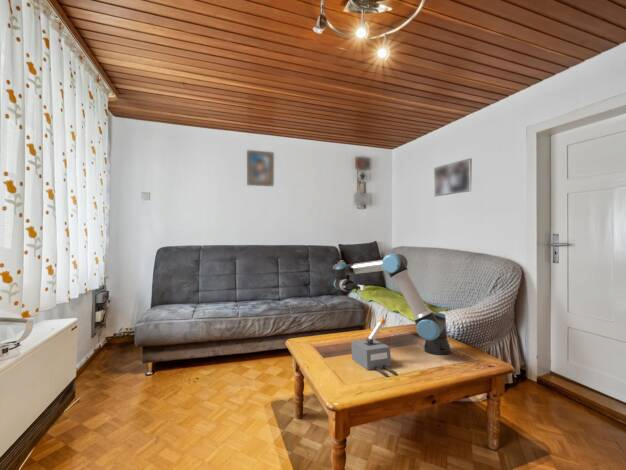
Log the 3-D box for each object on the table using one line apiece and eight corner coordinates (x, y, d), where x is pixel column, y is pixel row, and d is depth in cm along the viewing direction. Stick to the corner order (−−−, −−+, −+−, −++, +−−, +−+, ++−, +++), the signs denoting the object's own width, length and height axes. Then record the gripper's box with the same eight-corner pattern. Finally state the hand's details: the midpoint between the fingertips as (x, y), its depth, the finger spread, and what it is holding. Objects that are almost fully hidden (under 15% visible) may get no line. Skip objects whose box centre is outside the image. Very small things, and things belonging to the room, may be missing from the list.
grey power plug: (352, 359, 163) (351, 341, 164) (373, 356, 168) (372, 338, 169) (379, 378, 136) (378, 356, 137) (404, 374, 140) (402, 352, 141)
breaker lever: (365, 340, 159) (380, 317, 163) (368, 342, 160) (382, 320, 164) (368, 342, 156) (383, 318, 160) (371, 344, 156) (386, 321, 160)
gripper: (355, 290, 193) (373, 293, 171) (338, 291, 189) (354, 295, 167) (355, 279, 194) (373, 281, 172) (337, 280, 190) (353, 282, 168)
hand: (364, 288), depth 169 cm, fingers closed
